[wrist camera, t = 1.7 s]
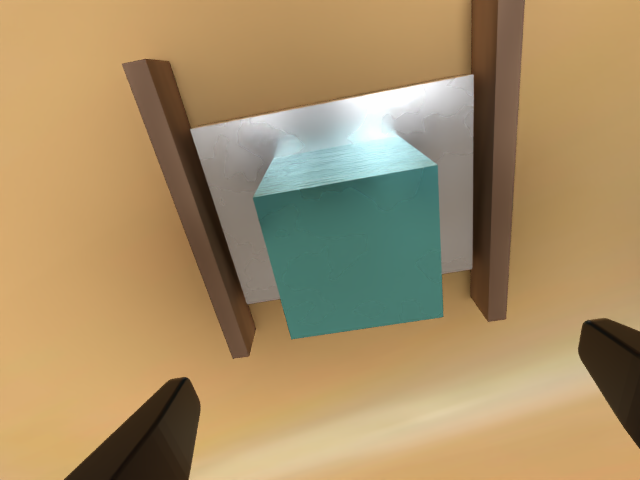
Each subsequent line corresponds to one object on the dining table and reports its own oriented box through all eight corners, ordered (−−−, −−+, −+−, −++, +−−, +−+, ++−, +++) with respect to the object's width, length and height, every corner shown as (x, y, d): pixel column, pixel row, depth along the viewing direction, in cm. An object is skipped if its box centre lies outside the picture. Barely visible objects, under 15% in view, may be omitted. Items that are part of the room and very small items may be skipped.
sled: (463, 74, 16) (559, 73, 10) (464, 258, 21) (532, 343, 14) (197, 125, 17) (126, 156, 11) (250, 292, 22) (221, 386, 15)
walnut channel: (495, -7, 15) (526, -22, 13) (486, 294, 22) (506, 319, 20) (148, 65, 16) (121, 64, 14) (241, 330, 23) (232, 358, 21)
